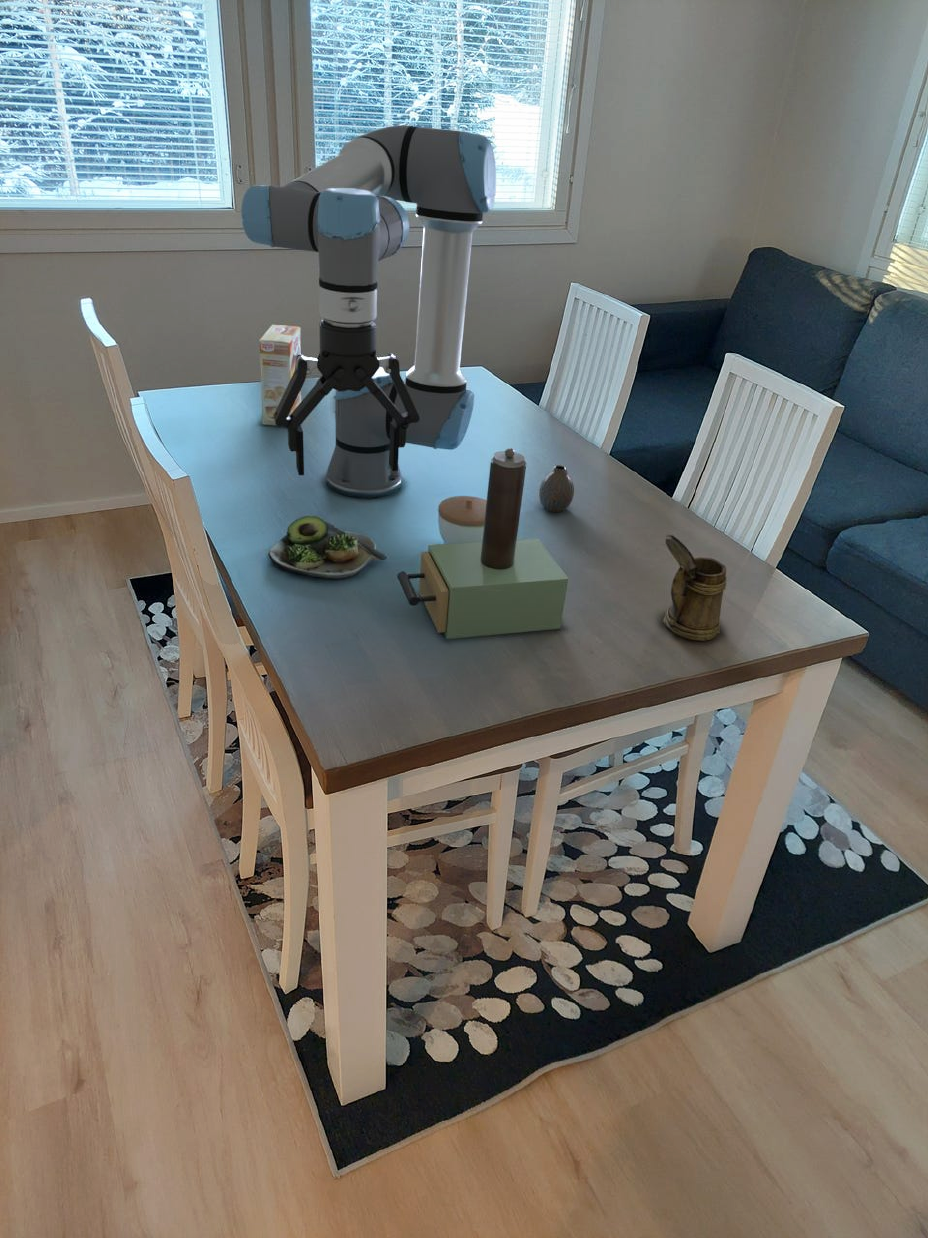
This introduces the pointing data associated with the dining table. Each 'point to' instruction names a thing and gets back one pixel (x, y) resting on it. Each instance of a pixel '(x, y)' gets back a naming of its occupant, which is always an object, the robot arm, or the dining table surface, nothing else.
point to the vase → (556, 490)
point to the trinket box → (462, 519)
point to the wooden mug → (695, 594)
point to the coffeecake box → (277, 367)
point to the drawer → (428, 590)
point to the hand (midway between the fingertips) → (347, 469)
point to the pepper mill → (503, 509)
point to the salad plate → (323, 550)
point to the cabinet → (500, 590)
